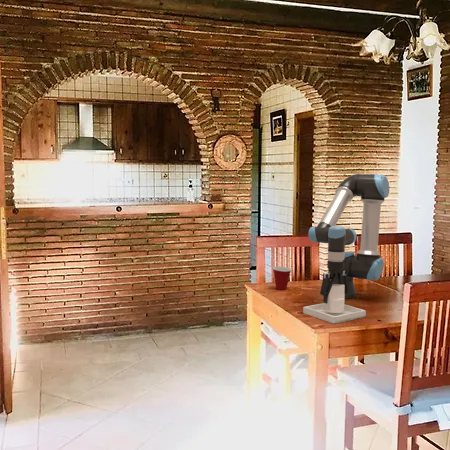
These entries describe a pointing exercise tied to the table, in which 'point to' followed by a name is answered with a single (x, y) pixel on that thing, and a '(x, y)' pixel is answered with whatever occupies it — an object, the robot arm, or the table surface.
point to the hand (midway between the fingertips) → (334, 308)
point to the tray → (334, 318)
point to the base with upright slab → (336, 299)
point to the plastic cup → (281, 277)
